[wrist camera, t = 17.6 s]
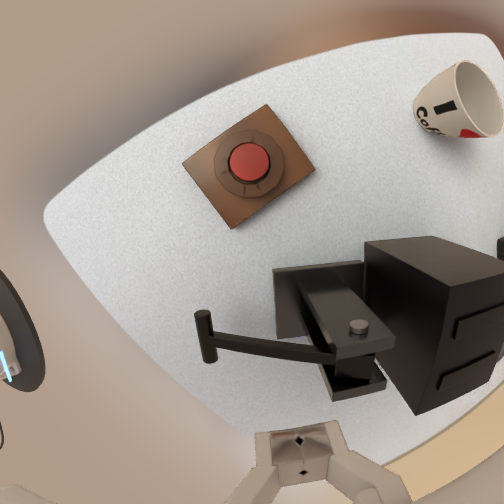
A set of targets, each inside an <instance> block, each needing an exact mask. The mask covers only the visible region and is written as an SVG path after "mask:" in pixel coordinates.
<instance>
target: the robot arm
mask: <svg viewBox="0 0 504 504" xmlns="http://www.w3.org/2000/svg"><path fill="white" fill-rule="evenodd" d="M21 371H22V369H21V366H20V364H19V362H18V359H17V357H16V352H15V346H14V343H13V339H12V337H11V334H10V331H9V329H8V327H7V325H6V323H5V321H4V319H3V317H2V316H1V314H0V380H2V379H5V378H8V380H9V382H11V381H12V379H11V376H14V375H16V374H19V373H20V372H21ZM0 430H1V435H2V442H1V446H0V449H1V448H2V446H3V443H4V436H3V431H2V426H1V423H0ZM269 434H270V435H269ZM255 450H256V467H255V468H252V469H251V470H250V472H249V473H248V474H247V476H246V477H245V478H244V479H243V481H242V482H241V483H240V484H239V486H238V487H237V488H236V489H235V491H234V492H233V493H232V494H231V496H230V497H229V498H228V499H227V500H226V502H225V503H224V504H271V503H272V502H273V500H274V498H275V497H276V495H277V493H278V491H279V490H280V487H283V486H290V485H295V484H301V483H307V482H313V481H318V480H324V479H326V481H328V482H329V483H330V484H331V485H333V486H334V487H335V488H336V489H337V490H339V491H340V492H341V493H343V494H344V495H345V496H346V497H348V498H349V499H350V500H352V501H353V504H504V445H503V446H502V447H501V448H500V449H498V450H497V451H496V452H495V453H493V454H492V455H491V456H489V457H488V458H487V459H485V460H484V461H482V462H481V463H480V464H478V465H477V466H475V467H474V468H472V469H471V470H469V471H468V472H466V473H465V474H463V475H461V476H460V477H458V478H457V479H455V480H453V481H452V482H450V483H448V484H446V485H445V486H443V487H441V488H439V489H437V490H435V491H434V492H432V493H430V494H428V495H426V496H424V497H422V498H420V499H417V500H415V501H413V502H412V500H411V497H410V495H409V493H408V491H407V489H406V487H405V485H404V483H403V481H402V479H401V477H400V476H399V475H397V474H395V473H393V472H391V471H389V470H387V469H386V468H384V467H382V466H380V465H378V464H376V463H375V462H373V461H371V460H369V459H367V458H366V457H364V456H362V455H361V454H359V453H357V452H355V451H354V450H351V451H349V449H348V446H347V444H346V441H345V439H344V436H343V434H342V431H341V429H340V426H339V423H338V421H337V420H333V421H329V422H324V423H318V424H313V425H308V426H303V427H297V428H294V429H286V430H278V431H268V432H258V433H255ZM0 504H57V503H54V502H52V501H50V500H48V499H46V498H44V497H42V496H40V495H38V494H36V493H34V492H32V491H30V490H29V489H27V488H25V487H23V486H21V485H19V484H12V485H8V486H5V487H3V488H0Z"/></svg>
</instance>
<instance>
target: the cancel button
mask: <svg viewBox="0 0 504 504" xmlns="http://www.w3.org/2000/svg"><path fill="white" fill-rule="evenodd" d="M268 165H269V159H268V155H267V153H266V152H265V150H264V149H263V148H262V147H260V146H259V145H256V144H253V143H246V144H242V145H240V146H238V147H237V148H236V149H235V150H234V151H233V153H232V155H231V158H230V166H231V169H232V171H233V173H234V174H235V175H236V176H237V177H238V178H239V179H241V180H244V181H254V180H257V179H259V178H260V177H262V176H263V175H264V174H265V172H266V171H267V168H268Z"/></svg>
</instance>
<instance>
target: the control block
mask: <svg viewBox="0 0 504 504" xmlns="http://www.w3.org/2000/svg"><path fill="white" fill-rule="evenodd" d="M246 143H253V144H256V145H259V146H260V147H262V148H263V149H264V150H265V152H266V153H267V155H268V159H269V165H268V168H267V171H266V172H265V174H264V175H263V176H262V177H260V178H259V179H257V180H254V181H244V180H241V179H239V178H238V177H237V176H236V175H235V174H234V173H233V171H232V169H231V166H230V158H231V155H232V153H233V151H234V150H235V149H236V148H237V147H238V146H240V145H242V144H246ZM182 165H183V166H184V167H185V169H186V170H187V171H188V173H189V174H190V176H191V177H192V178H193V180H194V181H195V182H196V184H197V185H198V186H199V188H200V189H201V190H202V192H203V193H204V194H205V196H206V197H207V198H208V200H209V201H210V202H211V204H212V205H213V206H214V208H215V209H216V210H217V212H218V213H219V214H220V216H221V217H222V218H223V220H224V221H225V222H226V224H227V225H228V226H229V228H230V229H233V228H234V227H236V226H237V225H238V224H240V223H241V222H243V221H244V220H245V219H247V218H248V217H249V216H251V215H252V214H254V213H255V212H256V211H258V210H259V209H261V208H262V207H263V206H265V205H266V204H268V203H269V202H270V201H272V200H273V199H275V198H276V197H277V196H279V195H280V194H282V193H283V192H285V191H286V190H287V189H289V188H290V187H292V186H293V185H295V184H296V183H297V182H299V181H300V180H302V179H303V178H305V177H306V176H308V175H309V174H310V173H312V172H313V171H315V170H316V169H315V168H314V166H313V165H312V163H311V162H310V161H309V159H308V158H307V156H306V155H305V153H304V152H303V151H302V149H301V148H300V147H299V145H298V144H297V142H296V141H295V140H294V138H293V137H292V136H291V134H290V133H289V132H288V130H287V129H286V128H285V126H284V125H283V124H282V122H281V121H280V120H279V119H278V117H277V116H276V115H275V113H274V112H273V111H272V110H271V108H270V107H269V106H268V105H267V104H266V105H264V106H262V107H261V108H259V109H258V110H256V111H255V112H253V113H252V114H250V115H248V116H247V117H245V118H244V119H242V120H241V121H239V122H238V123H236V124H235V125H234V126H232V127H231V128H229V129H228V130H226V131H225V132H223V133H222V134H221V135H219V136H218V137H216V138H215V139H214V140H212V141H211V142H209V143H208V144H207V145H205V146H204V147H203V148H201V149H200V150H199V151H197V152H196V153H195V154H193V155H192V156H191V157H190V158H188V159H187V160H186V161H184V162H183V163H182Z"/></svg>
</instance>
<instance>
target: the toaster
mask: <svg viewBox="0 0 504 504" xmlns="http://www.w3.org/2000/svg"><path fill="white" fill-rule="evenodd" d="M363 302H364V303H365V304H366V305H367V306H368V307H369V308H370V309H371V310H372V311H373V312H374V313H375V314H376V315H377V316H378V317H379V318H380V320H381V321H382V322H383V323H384V324H385V325H386V326H387V327H388V328H389V329H390V330H391V331H392V332H393V333H394V334H395V335H396V340H395V346H394V348H392V349H388V350H383V351H379V352H375V358H376V359H377V361H378V362H379V364H380V365H381V366H382V368H383V369H384V371H385V372H386V374H387V375H388V376H389V378H390V379H391V381H392V382H393V384H394V385H395V386H396V388H397V389H398V391H399V392H400V394H401V395H402V397H403V398H404V400H405V401H406V403H407V404H408V406H409V407H410V409H411V410H412V412H413V413H414V415H415V416H417V415H420V414H422V413H425V412H427V411H430V410H432V409H434V408H437V407H439V406H441V405H443V404H446V403H448V402H450V401H452V400H454V399H456V398H458V397H460V396H462V395H464V394H466V393H468V392H470V391H472V390H474V389H476V388H478V387H480V386H481V385H483V384H485V383H487V382H488V381H489V379H490V377H491V375H492V372H493V370H494V367H495V365H496V362H497V359H498V357H499V354H500V351H501V348H502V345H503V342H504V261H502V260H500V259H497V258H494V257H492V256H489V255H486V254H484V253H481V252H478V251H476V250H473V249H470V248H467V247H464V246H461V245H458V244H456V243H453V242H450V241H447V240H444V239H441V238H437V237H434V236H424V237H413V238H402V239H390V240H379V241H368V242H365V256H364V288H363Z"/></svg>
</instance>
